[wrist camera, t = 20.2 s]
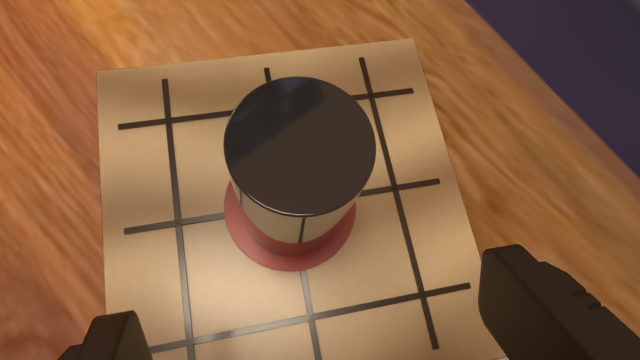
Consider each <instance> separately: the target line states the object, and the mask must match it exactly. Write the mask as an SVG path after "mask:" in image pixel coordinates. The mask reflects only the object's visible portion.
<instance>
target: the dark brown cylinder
mask: <svg viewBox="0 0 640 360" xmlns="http://www.w3.org/2000/svg"><path fill="white" fill-rule="evenodd" d="M223 148H224V157H225V162H226V166H227V169H228V173H229V176H230V179H231V183H232V186H233V190H234V193H235V197H236V200H237V203H238V207H239V210H240V214H241V217H242V221H243V223H244V226H245V228H246V230H247V232H248V234H249V235H250V237H251V238H252V239H253V240H254V241H255V242H256V243H257V244H258V245H259V246H260V247H262V248H263V249H265V250H267V251H269V252H271V253H273V254H276V255H280V256H286V257H296V256H303V255H307V254H309V253H312V252H314V251H316V250H318V249H319V248H321V247H322V246H323V245H325V244H326V243H327V242H328V241H329V240H330V238H331V237H332V236H333V235H334V233H335V231H336V230H337V228H338V227H339V225H340V224H341V222H342V221H343V219H344V218H345V216H346V214H347V213H348V211H349V210H350V208H351V207H352V205H353V204H354V202H355V201H356V199H357V197H358V196H359V194H360V193H361V191H362V190H363V188H364V187H365V185H366V183H367V182H368V180H369V178H370V176H371V173H372V171H373V168H374V164H375V159H376V140H375V134H374V131H373V128H372V124H371V122H370V120H369V118H368V116H367V114H366V113H365V111H364V110H363V108H362V107H361V106H360V105H359V103H358V102H357V101H356V100H355V99H354V98H353V97H352V96H350V95H349V94H348V93H347V92H345V91H344V90H342V89H341V88H339V87H337V86H335V85H333V84H331V83H329V82H326V81H323V80H320V79H317V78H311V77H301V76H294V77H285V78H279V79H276V80H272V81H269V82H267V83H265V84H262V85H260V86H259V87H257V88H255V89H254V90H252V91H251V92H250V93H248V94H247V95H246V96H245V97H244V98H243V99H242V100H241V101H240V102H239V103H238V105H237V106H236V107H235V109H234V110H233V112H232V114H231V116H230V117H229V120H228V122H227V125H226V129H225V133H224V141H223Z"/></svg>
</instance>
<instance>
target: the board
mask: <svg viewBox="0 0 640 360" xmlns="http://www.w3.org/2000/svg"><path fill="white" fill-rule="evenodd" d="M294 76H301V77H311V78H317V79H320V80H323V81H326V82H329V83H331V84H333V85H335V86H337V87H339V88H341V89H342V90H344V91H345V92H347V93H348V94H349V95H350V96H352V97H353V98H354V99H355V100H356V101H357V102H358V103H359V105H360V106H361V107H362V108H363V110H364V111H365V113H366V114H367V116H368V118H369V120H370V122H371V124H372V128H373V131H374V134H375V140H376V159H375V164H374V168H373V171H372V173H371V176H370V178H369V180H368V182H367V183H366V185H365V187H364V188H363V190H362V191H361V193H360V194H359V196H358V197H357V199H356V201H355V202H354V204H353V205H352V207H351V208H350V210H349V211H348V213H347V214H346V216H345V218H344V219H343V221H342V222H341V224H340V225H339V227H338V228H337V230H336V231H335V233H334V235H333V236H332V237H331V238H330V240H329V241H328V242H327V243H326V244H325V245H323V246H322V247H321V248H319V249H318V250H316V251H314V252H312V253H309V254H307V255H303V256H296V257H286V256H280V255H276V254H273V253H271V252H269V251H267V250H265V249H263V248H262V247H260V246H259V245H258V244H257V243H256V242H255V241H254V240H253V239H252V238H251V237H250V235H249V234H248V232H247V230H246V228H245V226H244V223H243V221H242V217H241V214H240V210H239V207H238V203H237V200H236V197H235V193H234V190H233V186H232V183H231V179H230V176H229V173H228V169H227V166H226V162H225V157H224V148H223V141H224V133H225V129H226V125H227V122H228V120H229V117H230V116H231V114H232V112H233V110H234V109H235V107H236V106H237V105H238V103H239V102H240V101H241V100H242V99H243V98H244V97H245V96H246V95H247V94H248V93H250V92H251V91H252V90H254V89H255V88H257V87H259V86H260V85H262V84H265V83H267V82H269V81H272V80H276V79H279V78H285V77H294ZM96 86H97V111H98V135H99V159H100V183H101V207H102V231H103V255H104V279H105V303H106V315H107V314H113V313H118V312H124V311H130V310H134V311H135V312H136V314H137V315H138V318H139V321H140V324H141V326H142V329H143V332H144V335H145V338H146V341H147V344H148V346H149V349H150V352H151V355H152V358H153V360H494V359H498V358H503V357H507V356H506V354H505V353H504V352H503V350H502V349H501V347H500V346H499V345H498V343H497V342H496V340H495V339H494V338H493V336H492V335H491V333H490V332H489V330H488V329H487V328H486V326H485V324H484V322H483V320H482V318H481V315H480V312H479V308H478V292H479V282H480V272H481V259H480V255H479V252H478V249H477V246H476V242H475V239H474V236H473V233H472V229H471V226H470V223H469V219H468V216H467V213H466V210H465V206H464V203H463V200H462V196H461V193H460V190H459V187H458V183H457V180H456V177H455V173H454V170H453V167H452V164H451V160H450V157H449V154H448V151H447V147H446V144H445V141H444V137H443V134H442V131H441V128H440V124H439V121H438V118H437V114H436V111H435V108H434V105H433V101H432V98H431V95H430V91H429V88H428V85H427V82H426V78H425V75H424V72H423V69H422V65H421V62H420V59H419V55H418V52H417V49H416V46H415V42H414V39H413V38H412V39H403V40H393V41H384V42H374V43H364V44H355V45H345V46H336V47H326V48H316V49H307V50H297V51H288V52H278V53H268V54H259V55H249V56H239V57H230V58H220V59H211V60H201V61H191V62H182V63H172V64H163V65H153V66H143V67H134V68H124V69H115V70H105V71H97V72H96Z"/></svg>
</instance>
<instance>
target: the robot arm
mask: <svg viewBox="0 0 640 360" xmlns="http://www.w3.org/2000/svg"><path fill="white" fill-rule="evenodd" d="M478 308H479V312H480V315H481V318H482V320H483V322H484V324H485V326H486V328H487V329H488V330H489V332H490V333H491V335H492V336H493V338H494V339H495V340H496V342H497V343H498V345H499V346H500V347H501V349H502V350H503V352H504V353H505V354H506V356H507V357H508V359H509V360H640V338H639V337H638V336H637V335H636V334H635V333H634V332H633V331H631V330H630V329H629V328H628V327H627V326H626V325H625V324H624V323H623V322H621V321H620V320H619V319H618V318H617V317H616V316H615V315H614V314H613V313H611V312H610V311H609V310H608V309H607V308H606V307H605V306H603V307H602V306H601V303H600V302H599V301H598V300H597V299H596V298H595V297H594V296H593V295H591V294H590V293H587V292H586V289H585V288H584V287H583V286H581V285H580V284H579V283H578V282H577V281H576V280H575V279H574V278H573V277H571V276H570V275H569V274H568V273H566V272H564V271H562V270H560V269H559V268H557V267H555V266H553V265H551V264H549V263H547V262H545V261H544V262H538V261H537V260H536V259H535V258H534V257H533V256H532V255H531V254H530V253H529V252H528V251H527V250H526V249H524V248H523V247H522V246H521V245H518V244H513V245H508V246H502V247H496V248H491V249H486V250H485V251H484V252H483V255H482V262H481V272H480V282H479V292H478ZM58 360H153V358H152V355H151V352H150V349H149V346H148V344H147V341H146V338H145V335H144V332H143V329H142V326H141V324H140V321H139V318H138V315H137V314H136V312H135V311H134V310H130V311H124V312H118V313H113V314H107V315H101V316H97V317H95V318H94V319H93V321H92V322H91V325H90V327H89V329H88V332H87V334H86V336H85V339H84V341H83V343H82V344H80V345H74V346H70V347H69V348H68V349H67V350H66V351H65V352H64V353H63V354H62V355H61V356H60V357H59V359H58Z"/></svg>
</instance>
